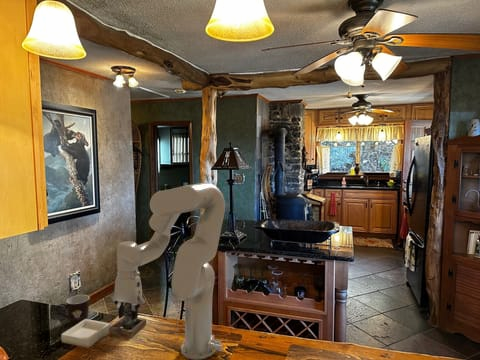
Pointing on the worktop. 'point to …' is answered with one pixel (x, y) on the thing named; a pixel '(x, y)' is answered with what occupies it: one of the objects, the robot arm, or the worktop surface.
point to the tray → (85, 333)
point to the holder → (119, 331)
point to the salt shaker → (127, 317)
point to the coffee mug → (76, 309)
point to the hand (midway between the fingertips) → (128, 317)
